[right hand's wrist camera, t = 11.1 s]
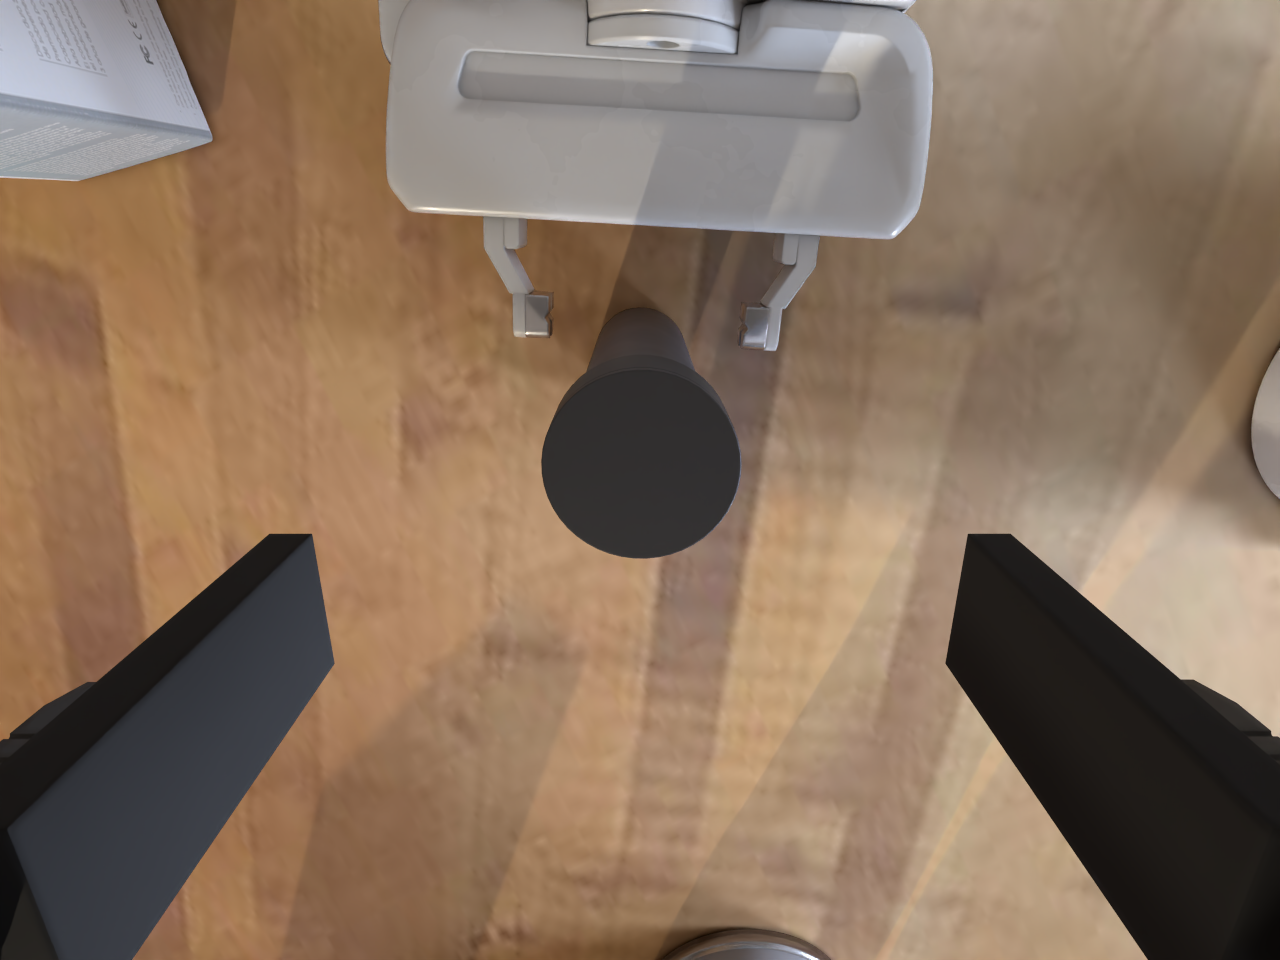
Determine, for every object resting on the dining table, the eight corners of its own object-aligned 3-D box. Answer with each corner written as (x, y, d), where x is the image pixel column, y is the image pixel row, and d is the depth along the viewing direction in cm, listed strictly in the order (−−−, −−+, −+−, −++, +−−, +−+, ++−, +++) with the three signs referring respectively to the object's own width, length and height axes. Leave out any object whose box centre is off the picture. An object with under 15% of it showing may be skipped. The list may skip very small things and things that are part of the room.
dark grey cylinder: (703, 341, 37) (755, 443, 20) (651, 414, 38) (661, 565, 21) (628, 288, 36) (619, 350, 19) (578, 364, 37) (529, 483, 21)
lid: (768, 421, 22) (782, 444, 20) (662, 557, 23) (665, 592, 21) (616, 316, 21) (613, 328, 19) (517, 466, 22) (504, 492, 20)
